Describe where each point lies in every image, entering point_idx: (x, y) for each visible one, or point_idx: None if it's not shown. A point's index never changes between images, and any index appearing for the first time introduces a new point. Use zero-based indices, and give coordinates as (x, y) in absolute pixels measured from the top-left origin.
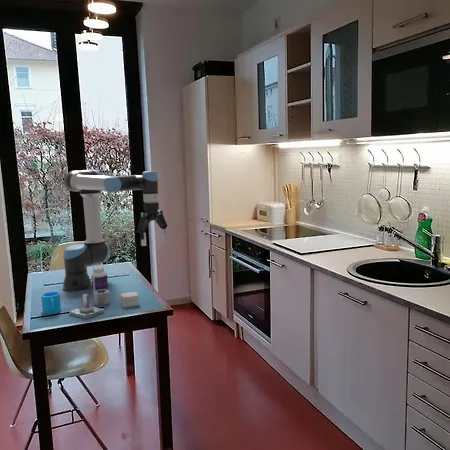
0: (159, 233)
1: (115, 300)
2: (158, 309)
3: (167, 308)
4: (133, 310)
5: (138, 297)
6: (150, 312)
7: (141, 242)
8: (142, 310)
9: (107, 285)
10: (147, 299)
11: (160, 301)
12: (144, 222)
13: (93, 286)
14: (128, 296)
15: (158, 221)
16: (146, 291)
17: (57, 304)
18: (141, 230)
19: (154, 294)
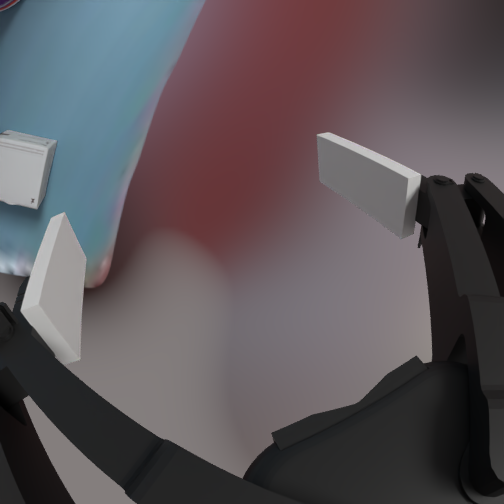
0: (367, 157)
1: (6, 87)
2: None
3: (106, 276)
4: (15, 233)
5: (38, 206)
6: None
7: (47, 238)
8: (38, 249)
9: None
10: (96, 151)
11: (121, 203)
12: (101, 465)
13: None
14: (5, 198)
15: (435, 326)
16: (154, 51)
17: None
18: (19, 410)
19: (151, 110)
